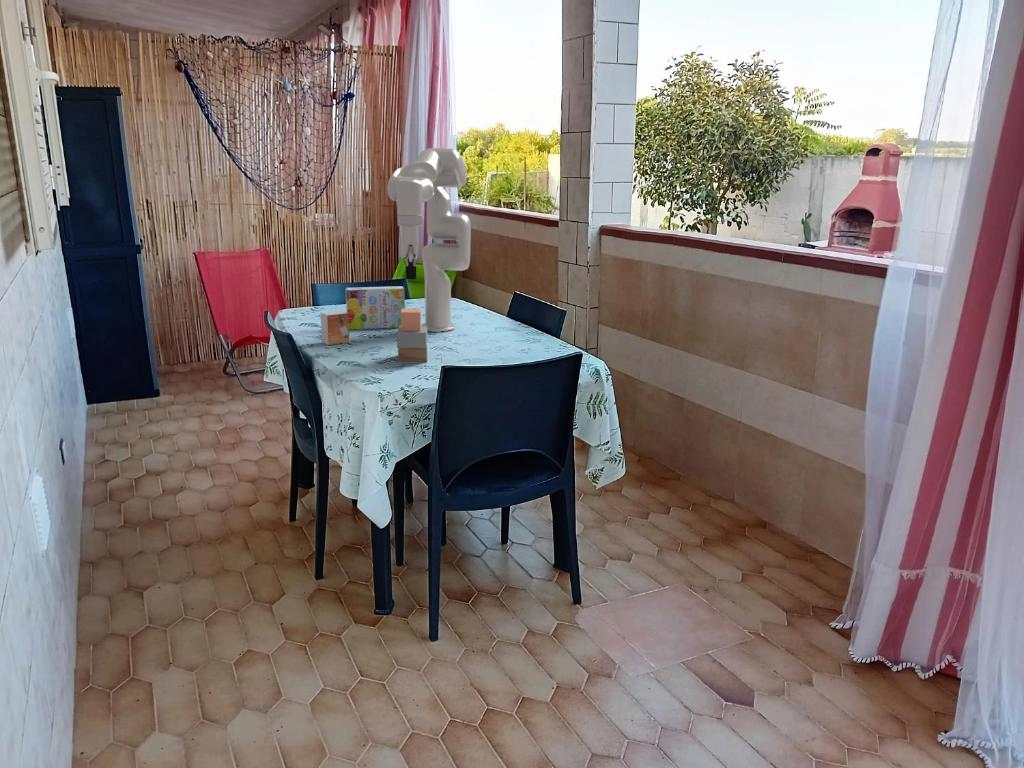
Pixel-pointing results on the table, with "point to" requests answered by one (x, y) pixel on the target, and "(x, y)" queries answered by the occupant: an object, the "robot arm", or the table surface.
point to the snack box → (375, 307)
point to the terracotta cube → (410, 319)
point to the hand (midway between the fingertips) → (411, 276)
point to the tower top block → (412, 338)
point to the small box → (335, 327)
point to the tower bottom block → (412, 354)
